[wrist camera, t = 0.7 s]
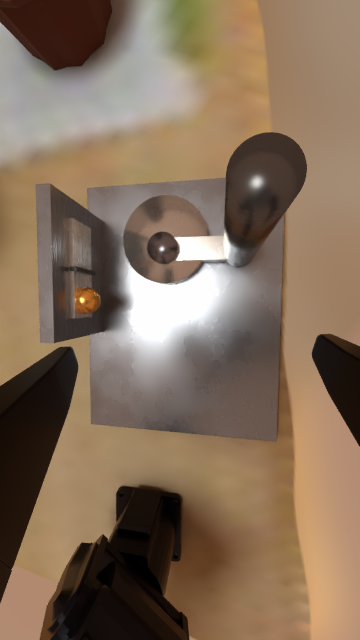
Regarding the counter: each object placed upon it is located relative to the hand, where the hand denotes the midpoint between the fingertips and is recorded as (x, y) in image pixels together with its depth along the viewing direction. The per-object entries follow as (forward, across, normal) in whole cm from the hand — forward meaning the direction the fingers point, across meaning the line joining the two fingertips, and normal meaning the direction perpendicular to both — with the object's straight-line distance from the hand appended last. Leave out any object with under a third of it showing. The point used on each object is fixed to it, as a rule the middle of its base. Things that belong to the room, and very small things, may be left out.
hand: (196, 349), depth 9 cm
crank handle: (+14, -1, -1) cm, 14 cm away
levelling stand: (+13, 0, +5) cm, 14 cm away
